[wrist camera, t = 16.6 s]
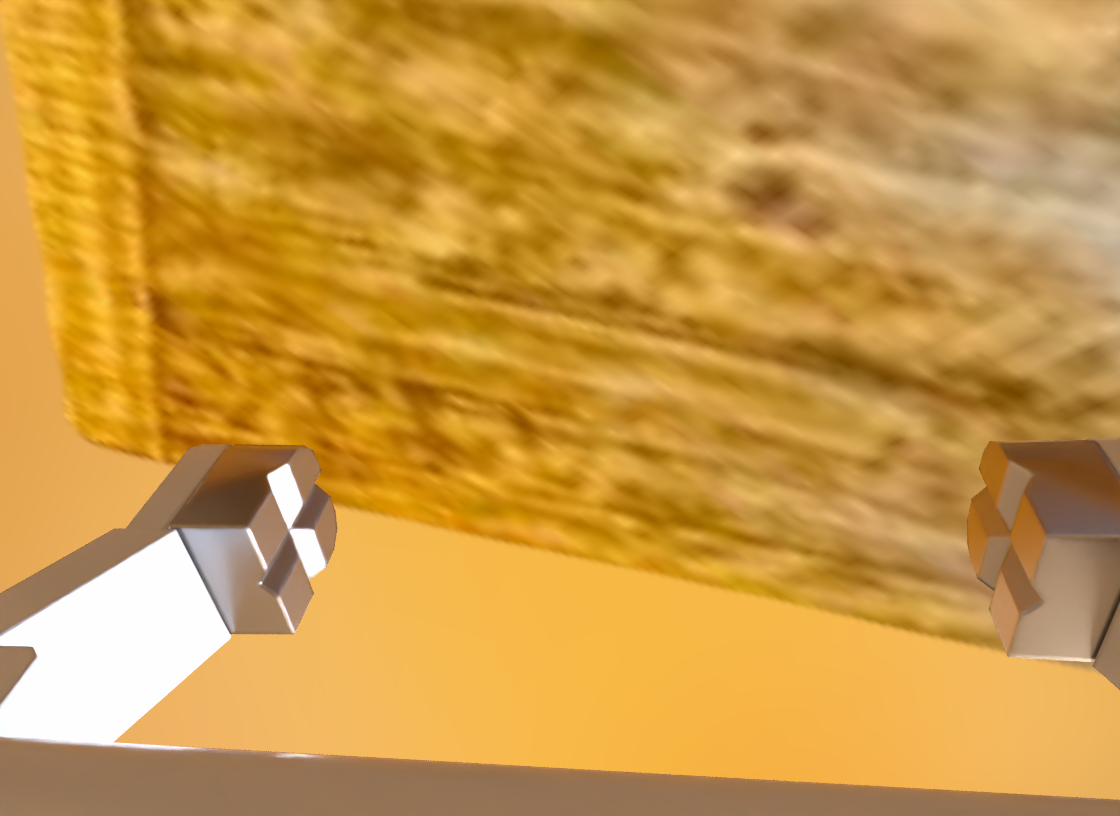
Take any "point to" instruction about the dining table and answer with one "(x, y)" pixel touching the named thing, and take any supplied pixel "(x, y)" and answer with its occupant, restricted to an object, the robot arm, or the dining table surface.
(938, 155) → the dining table surface
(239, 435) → the dining table surface
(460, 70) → the dining table surface
